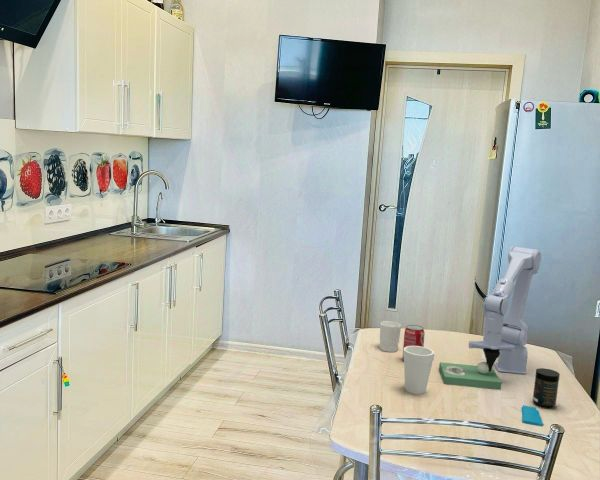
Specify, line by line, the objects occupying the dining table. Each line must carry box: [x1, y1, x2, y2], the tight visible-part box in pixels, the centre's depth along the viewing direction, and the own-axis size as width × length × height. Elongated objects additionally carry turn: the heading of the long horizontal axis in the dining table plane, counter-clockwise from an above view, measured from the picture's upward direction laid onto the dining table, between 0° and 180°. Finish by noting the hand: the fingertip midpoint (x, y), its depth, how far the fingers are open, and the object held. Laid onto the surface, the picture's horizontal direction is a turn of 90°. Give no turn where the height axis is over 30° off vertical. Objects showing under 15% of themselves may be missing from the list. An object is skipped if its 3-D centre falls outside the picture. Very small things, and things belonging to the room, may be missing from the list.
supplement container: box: [532, 367, 561, 410], centre depth 180 cm, size 7×7×10 cm
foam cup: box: [402, 346, 435, 395], centre depth 185 cm, size 10×9×13 cm
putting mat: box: [438, 361, 502, 391], centre depth 198 cm, size 18×14×2 cm
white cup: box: [379, 320, 402, 353], centre depth 224 cm, size 8×8×10 cm
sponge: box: [521, 404, 544, 427], centre depth 171 cm, size 2×12×6 cm
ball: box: [476, 361, 489, 374], centre depth 197 cm, size 4×4×4 cm
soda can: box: [402, 324, 426, 361], centre depth 211 cm, size 7×7×13 cm
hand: (488, 370), depth 197 cm, fingers closed, pressing on ball
